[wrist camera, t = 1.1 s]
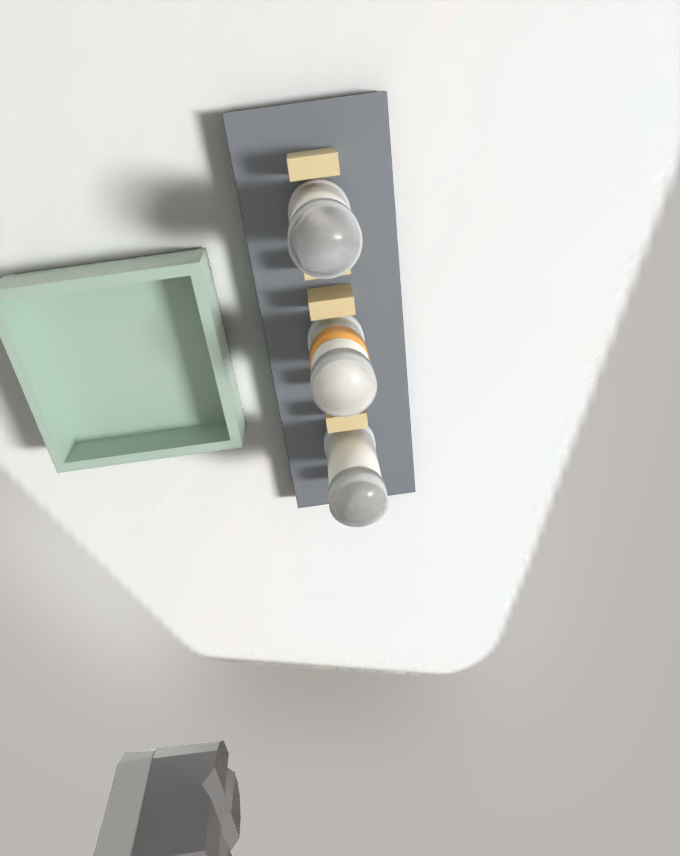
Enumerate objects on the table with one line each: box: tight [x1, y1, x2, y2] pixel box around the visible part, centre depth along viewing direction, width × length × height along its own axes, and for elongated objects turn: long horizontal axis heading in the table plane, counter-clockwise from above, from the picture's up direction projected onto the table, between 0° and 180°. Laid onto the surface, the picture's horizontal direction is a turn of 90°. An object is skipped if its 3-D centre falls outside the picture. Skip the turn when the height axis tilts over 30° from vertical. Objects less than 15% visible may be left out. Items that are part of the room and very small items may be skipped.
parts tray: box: [0, 248, 246, 473], centre depth 36 cm, size 11×11×3 cm
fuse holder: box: [222, 91, 415, 508], centre depth 36 cm, size 24×8×4 cm, turn 7°
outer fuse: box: [323, 423, 388, 527], centre depth 37 cm, size 3×3×7 cm
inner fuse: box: [287, 177, 363, 279], centre depth 30 cm, size 3×3×7 cm
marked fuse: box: [307, 315, 377, 417], centre depth 33 cm, size 3×3×7 cm
